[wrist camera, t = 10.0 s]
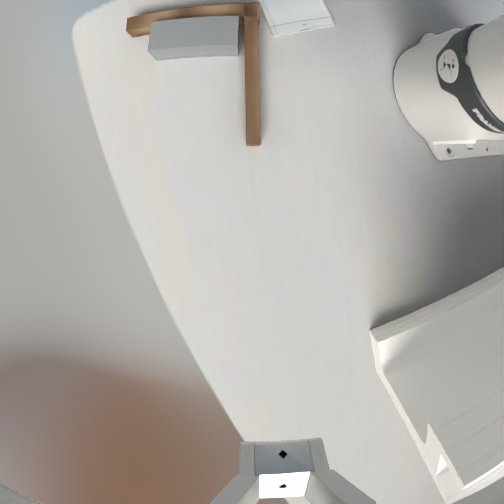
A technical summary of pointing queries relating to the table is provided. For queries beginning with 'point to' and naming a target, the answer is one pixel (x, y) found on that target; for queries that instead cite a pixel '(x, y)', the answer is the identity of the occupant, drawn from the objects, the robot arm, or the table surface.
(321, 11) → the hard drive
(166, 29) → the block
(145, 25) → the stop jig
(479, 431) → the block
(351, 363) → the table surface
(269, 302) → the table surface
